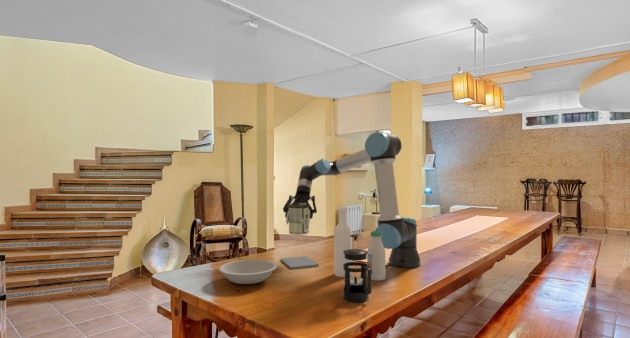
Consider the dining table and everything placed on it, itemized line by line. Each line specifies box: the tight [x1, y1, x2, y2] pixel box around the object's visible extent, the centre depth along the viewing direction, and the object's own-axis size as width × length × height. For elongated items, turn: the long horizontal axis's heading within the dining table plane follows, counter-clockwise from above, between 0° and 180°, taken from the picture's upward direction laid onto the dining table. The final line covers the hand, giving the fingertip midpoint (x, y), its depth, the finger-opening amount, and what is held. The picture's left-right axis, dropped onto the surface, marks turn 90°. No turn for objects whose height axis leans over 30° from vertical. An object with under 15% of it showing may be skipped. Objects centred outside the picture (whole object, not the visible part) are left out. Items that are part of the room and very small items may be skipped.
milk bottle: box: [366, 230, 387, 282], centre depth 152 cm, size 8×8×20 cm
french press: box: [342, 233, 372, 304], centre depth 128 cm, size 12×9×23 cm
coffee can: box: [288, 203, 310, 236], centre depth 177 cm, size 10×10×14 cm
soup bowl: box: [218, 258, 278, 285], centre depth 148 cm, size 24×24×7 cm
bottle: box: [333, 206, 353, 278], centre depth 157 cm, size 8×8×30 cm
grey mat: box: [280, 255, 320, 270], centre depth 177 cm, size 18×14×1 cm
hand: (297, 222), depth 174 cm, fingers closed on coffee can, 10 cm apart
